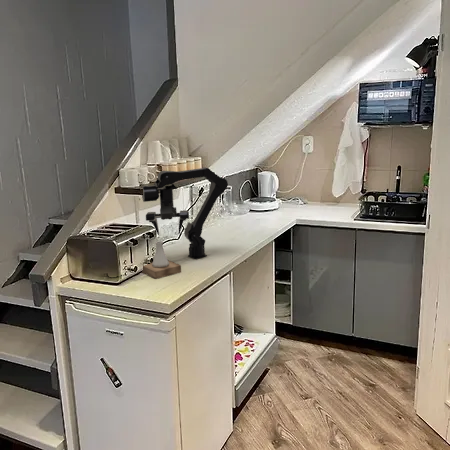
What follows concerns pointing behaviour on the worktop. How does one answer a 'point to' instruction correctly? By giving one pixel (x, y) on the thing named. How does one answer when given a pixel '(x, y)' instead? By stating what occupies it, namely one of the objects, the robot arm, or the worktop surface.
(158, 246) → the flask
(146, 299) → the worktop surface
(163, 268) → the walnut plinth
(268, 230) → the worktop surface
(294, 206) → the worktop surface
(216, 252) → the worktop surface
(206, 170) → the robot arm
